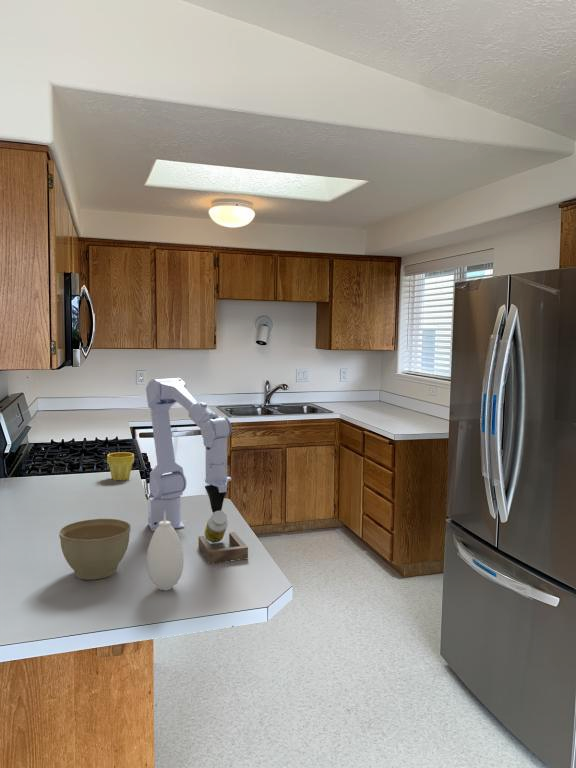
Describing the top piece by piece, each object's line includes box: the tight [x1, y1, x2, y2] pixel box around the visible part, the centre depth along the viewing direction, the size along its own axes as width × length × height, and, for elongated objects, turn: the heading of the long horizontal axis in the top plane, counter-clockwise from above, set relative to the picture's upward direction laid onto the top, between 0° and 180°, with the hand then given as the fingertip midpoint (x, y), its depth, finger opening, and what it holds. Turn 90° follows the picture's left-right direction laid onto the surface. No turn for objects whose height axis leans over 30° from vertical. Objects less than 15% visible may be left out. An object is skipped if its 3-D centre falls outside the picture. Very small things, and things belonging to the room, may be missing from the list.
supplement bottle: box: [204, 510, 229, 544], centre depth 158 cm, size 5×5×10 cm
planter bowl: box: [58, 518, 131, 580], centre depth 139 cm, size 16×16×11 cm
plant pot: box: [106, 451, 135, 481], centre depth 230 cm, size 10×10×10 cm
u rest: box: [198, 531, 249, 565], centre depth 152 cm, size 10×12×3 cm
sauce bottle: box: [146, 510, 184, 592], centre depth 130 cm, size 8×8×18 cm
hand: (216, 512), depth 157 cm, fingers closed
